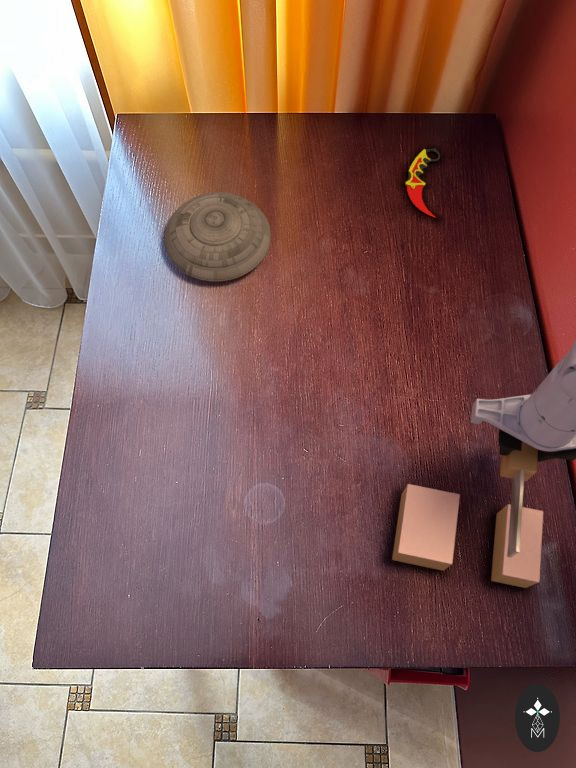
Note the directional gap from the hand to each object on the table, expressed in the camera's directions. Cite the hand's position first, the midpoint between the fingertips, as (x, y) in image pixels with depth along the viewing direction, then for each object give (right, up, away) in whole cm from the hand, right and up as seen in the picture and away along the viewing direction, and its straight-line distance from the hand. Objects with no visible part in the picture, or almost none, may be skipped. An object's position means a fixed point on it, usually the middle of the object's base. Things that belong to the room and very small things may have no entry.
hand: (519, 450), depth 77 cm
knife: (-6, +38, +25) cm, 46 cm away
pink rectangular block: (-10, -10, +4) cm, 15 cm away
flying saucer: (-36, +28, +20) cm, 50 cm away
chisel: (-1, -5, -1) cm, 5 cm away
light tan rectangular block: (0, -12, +3) cm, 12 cm away
